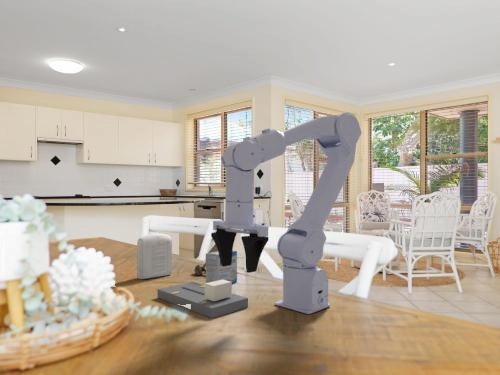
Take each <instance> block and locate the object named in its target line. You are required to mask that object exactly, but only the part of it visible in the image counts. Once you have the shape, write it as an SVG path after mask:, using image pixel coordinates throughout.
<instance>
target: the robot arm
mask: <svg viewBox="0 0 500 375" xmlns="http://www.w3.org/2000/svg"><path fill="white" fill-rule="evenodd" d="M361 135H362V130H361V126H360V122H359V120H358V118H357V117H356V115H355V114H353V113H351V112H343V113H340V114H332V115H329V116H324V117H319V118H315V119H314V118H313V119H310V120H308V121H306V122H303V123H300V124H298V125H296V126H294V127H291V128H289V129H287V130H284V131H279V130H277V129H270V128H265V129H262V130H261V133H260V134H257V135H254V136H253V137H252V136H251V137H250V136H246V137H244V138H242V139H243V140H242V141H241V142H236V143H232V144H229V145H227V147H226V148H225V149H224V151H223V155H222V156H221V159H220V160H221V164H222V166H223V167H224V168H225V211H224V212H225V213H224V216H225V218H224V220H213V221H212V230H213V231H215V232H211V233H210V235H211V238H212V239H213V242H214V245H215V246H216V249H217V251H218V253H219V257H220V261H221V265H222V266H223V267H224V266H230V265H231V262H232V251H233V249H234V244H235V240H236V236H237V234H244V236H243V235H242V236H241V238H240V239H241V241H242V246H243V248H244V250H243V251H244V254H245V256H244V257H245V270H246V273H249V274H250V273H255V272H257V269H258V265H259V261H260V259H261V257H262V256H261V255H262V253H263V251H264V249H265V246H266V245H267V243H268V242H269V226H268V225H264V224H259V223H254V209H255V208H254V206H255V204H254V202H255V198H254V196H255V169H257V167H258V166H259V165H261V164H263V163H265V162H268V161H270V160H273V159H275V158H277V157H279V156H282V155H284V154H285V152H286V149H287V147H288V146H291V145H294V144H296V143H300V142H302V141H305V140H308V139H311V140H315V141H316V142H317V144H318V146H319V147H320V148H321V151H322V152H323V154H324V155H325V156H326V157H327V161H326V165H325V166H324V169H323V171H322V172H321V174H320V177H319V179H318V181H317V182H316V185H315V186H314V188H313V190H312V193H311V195H310V197H309V199H308V201H307V203H306V205H305V207H304V209H303V210H302V213H301V215H300V218H299V219H297V220H296V221H294V222H292V223H291V224H290V225H289V226H288V229H287V230H286V231H285V232H284V233H283V234H281V236H280V237H279V239H278V242H277V245H276V246H277V247H276V248H277V249H276V250H277V253H278V254H279V256H280V257H281V259H282V264H283V265H282V280H283V281H282V284H283V285H282V291H283V292H282V299H281V300H277V301H275V302H274V305H276V306H278V307H281V308H286V309H289V310H292V311H296V312H300V313H304V314H306V315H310V314H311V315H312V314H313V313H316V312H319V311H321V310H324V309H327V308H329V307H330V306H331V304H330V303H329V276H328V274H327V271H326V270H325V269H323V268H319V267H318V265H319V263H320V262H321V260H322V257H323V255H324V246H325V243H326V241H327V236H326V234H325V232H324V229H323V228H324V226H325V224H326V222H327V220H328V219H329V218H328V217H329V215H330V213H331V211H332V209H333V208H334V205H335V202H336V201H337V199H338V197H339V194H340V193H341V191H342V188H343V186H344V184H345V182H346V180H347V177H348V176H349V174H350V172H351V170H352V167H353V166H354V162H355V160H356V159H355V158H356V149H357V143H358V142H359V139H360V137H361Z"/></svg>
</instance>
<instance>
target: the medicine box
mask: <svg viewBox="0 0 500 375" xmlns="http://www.w3.org/2000/svg"><path fill="white" fill-rule="evenodd" d="M205 263H206V267H205V269H206V273H205V283H209V282H213V281H218V280H222V279H223V280H227V281H231V282H232V285H233V284H236V283H237V282H238V274H237V273H238V251H237V250H233V251H232V262H231V265H230V266H224V267H223V266H222V265H221V261H220V257H219V253H218V250H217V251H212V252H207V253H205Z"/></svg>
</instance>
